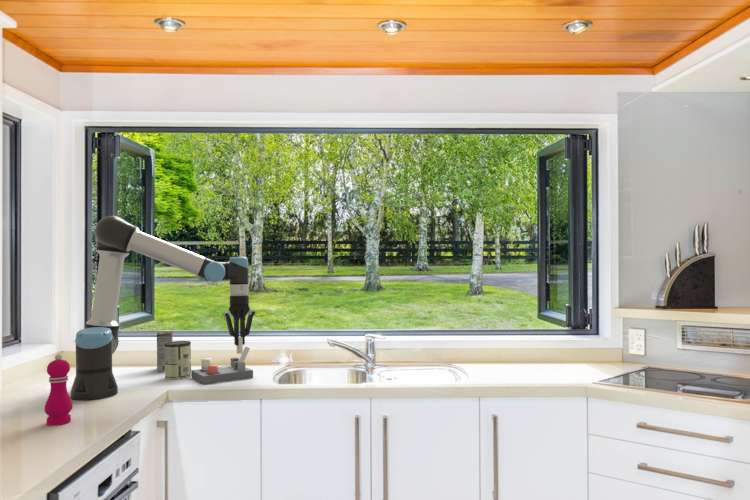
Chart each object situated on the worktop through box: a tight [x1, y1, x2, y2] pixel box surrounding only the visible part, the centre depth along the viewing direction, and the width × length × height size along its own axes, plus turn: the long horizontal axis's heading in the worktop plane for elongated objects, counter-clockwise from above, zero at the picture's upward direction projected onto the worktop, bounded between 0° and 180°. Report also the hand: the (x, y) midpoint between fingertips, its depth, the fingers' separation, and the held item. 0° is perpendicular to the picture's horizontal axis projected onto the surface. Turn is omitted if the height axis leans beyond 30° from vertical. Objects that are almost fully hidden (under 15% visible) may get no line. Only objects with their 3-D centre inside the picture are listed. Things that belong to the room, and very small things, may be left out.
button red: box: [208, 364, 219, 375], centre depth 227 cm, size 4×4×5 cm
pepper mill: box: [44, 353, 73, 426], centre depth 170 cm, size 7×7×20 cm
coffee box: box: [156, 331, 174, 373], centre depth 253 cm, size 9×6×16 cm
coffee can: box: [164, 340, 192, 380], centre depth 236 cm, size 10×10×14 cm
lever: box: [236, 346, 251, 367], centre depth 234 cm, size 2×3×9 cm, turn 33°
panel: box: [190, 361, 254, 385], centre depth 233 cm, size 20×16×6 cm
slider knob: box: [230, 357, 240, 366], centre depth 240 cm, size 2×3×3 cm
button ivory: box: [200, 357, 213, 372], centre depth 233 cm, size 4×4×5 cm
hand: (239, 353), depth 233 cm, fingers closed
